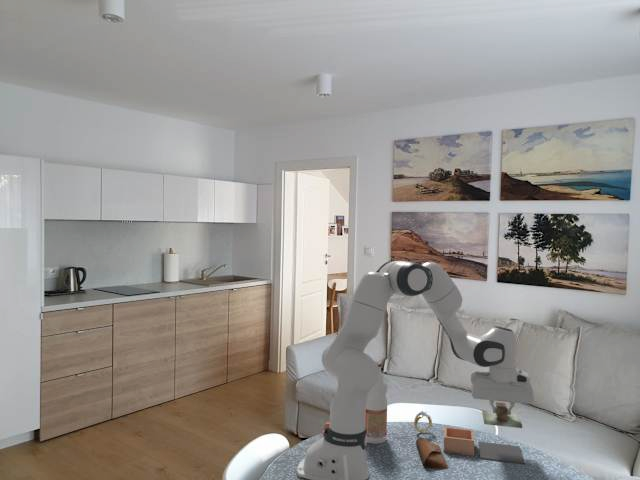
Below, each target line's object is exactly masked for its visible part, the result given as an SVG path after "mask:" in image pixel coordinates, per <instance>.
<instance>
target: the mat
mask: <svg viewBox="0 0 640 480" xmlns="http://www.w3.org/2000/svg"><path fill="white" fill-rule="evenodd" d="M477 443H478V452H479V456H480V457H479V458H480V460H489V461H495V462H503V463H511V464H519V465H526V462H525V459H524V455H523V453H522V450H521V447H520V446H519V445H511V444H503V443H494V442H488V441H487V442H485V441H478V442H477Z"/></svg>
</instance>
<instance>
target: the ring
mask: <svg viewBox="0 0 640 480" xmlns="http://www.w3.org/2000/svg"><path fill="white" fill-rule="evenodd" d="M423 417H426V418H427V420H428V426H426V428H425V429H419V428H418V422H419V420H420V419H422V418H423ZM432 420H433V419H432V417H431V416H430V415H429V414H428V413H427V411H425V412H424V411H419V412H418V413H417V414H416V416H415V418H414V421H413V426H414V429H415V430H416V431H418V433H422V434H424V433H427V432H428V431H429V430H430V429H431V427H432V425H433V424H432V423H433V421H432ZM423 432H424V433H423Z"/></svg>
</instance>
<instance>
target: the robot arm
mask: <svg viewBox="0 0 640 480" xmlns="http://www.w3.org/2000/svg"><path fill="white" fill-rule="evenodd" d="M461 293H462V292H461V291H460V290H459V288H458V286H457V285H456V284H455V281H453V280H452V278H451V276H450V275H449V274H448V273H447V271H446V270H444V269H443V268H442V266H440V264H438V263H437V262H435V261H427V262H424V263H421V264H420V263H418V262H416V261H415V262H414V261H407V260H389V261H387V262H385V263H383V264H382V265H381V266H379V268H378V269H377V270H376V271H370V272H366V273H365V274H363V276H361V279H360V280H359V282H358V285H357V287H356V288H355V291H354V293H353V296H352V299H351V302H350V305H349V308H348V311H347V313H346V317H345V319H344V322H343V324H342V326H341V329H340V330H339V332H338V333H337V335H336V336H335V338H334V340H332V342H331V343H330V344H329V345H328V346H326V347H325V349H324V350H323V351H322V354H321V364H322V366H323V367H324V369H325V371H326V372H327V373H328V375H330V376H331V377H333V378H334V379H336V380H337V389H336V392H335V393H336V394H335V396H334V397H333V398H332V399H331V401H330V405H329V407H330V408H329V409H330V412H329V413H330V414H329V421H327V422H326V423H325V425H324V428H323V431H322V436H323V437H322V438H320V439H318V440H317V441H315V442H313V443H312V444H311V445H310V446H309V448H308V449H307V450H306V451H307V452H306V453H305V456H304V458H303V459H301V460H300V462H299V463H298V465H297V468H296V474H297V476H298V477H299V478H302V479H303V478H304V479H306V480H367V479H369V477H370V469H369V466H368V458H367V450H366V449H367V444H368V443H367V429H366V427H365V422H366V404H367V399H368V395H369V392H370V390H371V388H372V387H374V386H375V384H376V383H377V381H378V379H379V367H378V365H377V363H376V362H375V361H376V360H374V359H373V358H372V357H371V356H370V355H369V354H368V353H365V352H364V351H365V350H366V347H367V346H368V345H369V343H370V342H371V341H372V340H374V339H375V338H376V337H377V336H378V334H379V331H380V328H381V326H382V322H383V320H384V317H385V313H386V309H387V306H388V303H389V300H390V299H391V297H392V296H393V295H394V294H396V295H399V296H409V297H416V296H419V295H422V297H423V298H424V300H425V301H426V302H427V304H428V306H429V308H430V309H431V310H432V312H434V315H435V317H436V319H437V320H438V322H439V323H440V325H441V327H442V329H443V330H444V332H445V334H446V336H447V337H448V339H449V343H450V347H451V351H452V354H453V355H454V356H455V358H457V359H459V360H462V361H466V362H469V363H471V364H472V365H473V364H474V365H476V366H477V367H481V368H487V367H488V371H487V372H486V371H475V372H473V373H471V376H470V381H471V384H472V386H471V396H472V398H473V399H474V400H485V401H489V404H490V406H491V408H492V409H491V411H492V412H493V413H497V407H496V406H495V405H494V403H495V402H497V401H498V402H503V403H506V402H507V403H509V406H508V407H507V410H508V411H507V415H511V413H512V410H513V408H514V407H515V404H517V403H518V404H527V405H531V404H532V405H533V403H534V401H535V400H534V399H535V398H534V390H533V386H532V384H531V377H530V375H529V374H528V372H526V371H523V370H520V369H518V368H517V363H516V356H517V336H516V333H515V331H514V330H512V329H510V328H508V327H507V328H506V327H504V326H498V325H493V326H492V327H491V328H490V330H489V331H487V332H486V333H484V334H483V335H476V334H474V333H472V332H470V331H468V330H467V329H465V327H464V326H463V324H462V321H460V318H459V317H458V316H457V314H456V313H457V312H458V311H459V310H460V308H461V307H462V305H463V296H462V294H461Z"/></svg>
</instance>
